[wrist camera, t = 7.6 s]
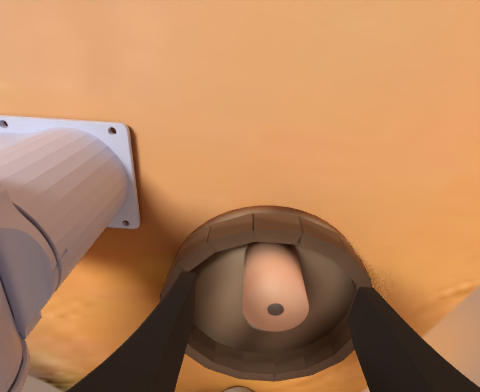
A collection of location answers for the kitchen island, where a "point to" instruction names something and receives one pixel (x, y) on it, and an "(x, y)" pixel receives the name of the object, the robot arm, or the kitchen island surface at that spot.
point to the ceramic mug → (238, 389)
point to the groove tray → (231, 294)
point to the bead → (273, 287)
